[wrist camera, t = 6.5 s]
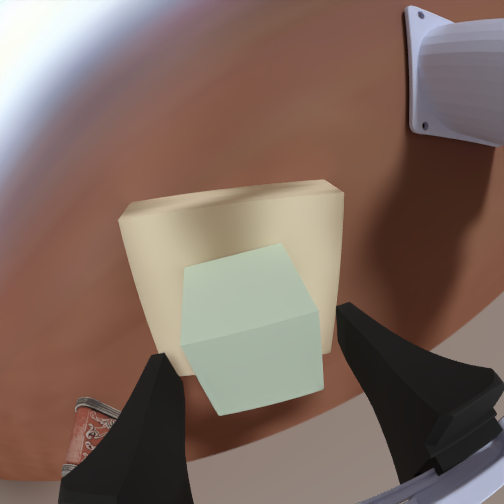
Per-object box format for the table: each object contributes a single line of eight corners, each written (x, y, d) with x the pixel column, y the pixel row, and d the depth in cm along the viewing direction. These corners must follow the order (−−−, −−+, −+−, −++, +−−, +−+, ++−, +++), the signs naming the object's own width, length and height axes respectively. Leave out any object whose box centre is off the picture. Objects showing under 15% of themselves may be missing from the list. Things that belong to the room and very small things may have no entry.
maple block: (320, 177, 16) (344, 192, 13) (315, 322, 20) (330, 352, 18) (132, 199, 15) (118, 219, 12) (170, 344, 19) (168, 377, 17)
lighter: (161, 431, 24) (162, 527, 15) (141, 441, 24) (139, 529, 15) (87, 391, 20) (66, 499, 11) (71, 404, 21) (51, 501, 12)
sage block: (281, 242, 14) (318, 310, 9) (293, 317, 16) (323, 389, 11) (184, 267, 14) (180, 345, 9) (211, 338, 16) (219, 415, 11)
